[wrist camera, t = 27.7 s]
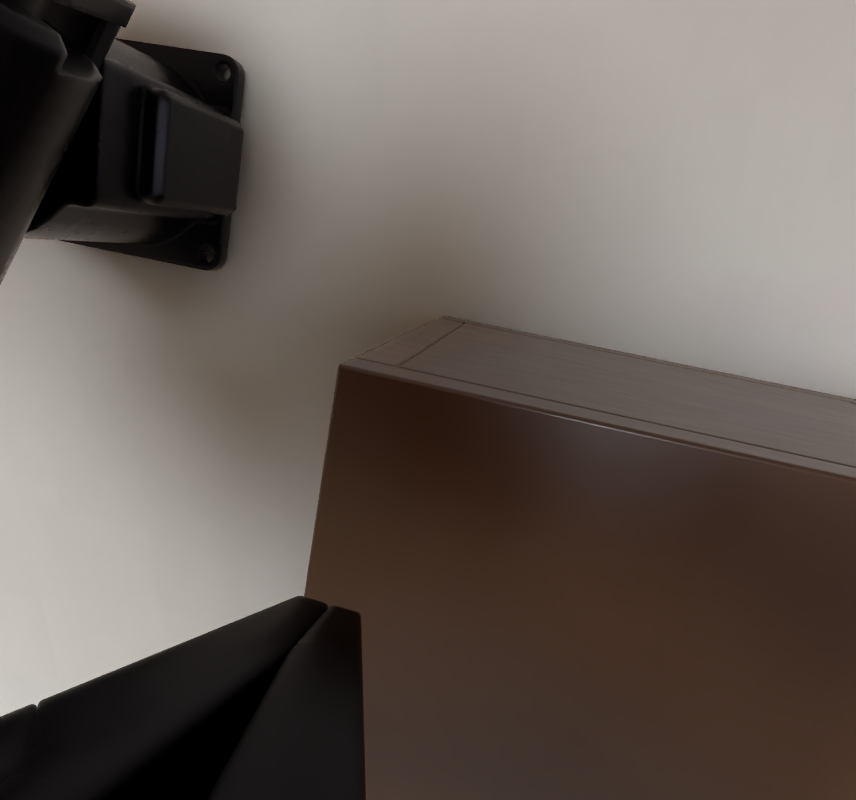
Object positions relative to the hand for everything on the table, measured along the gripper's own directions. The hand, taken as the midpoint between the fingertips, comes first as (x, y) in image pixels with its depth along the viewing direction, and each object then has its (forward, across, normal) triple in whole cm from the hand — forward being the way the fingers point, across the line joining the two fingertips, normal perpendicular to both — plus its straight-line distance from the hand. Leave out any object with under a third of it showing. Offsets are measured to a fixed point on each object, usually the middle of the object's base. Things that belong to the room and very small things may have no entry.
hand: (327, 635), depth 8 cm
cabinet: (+13, -5, +5) cm, 15 cm away
